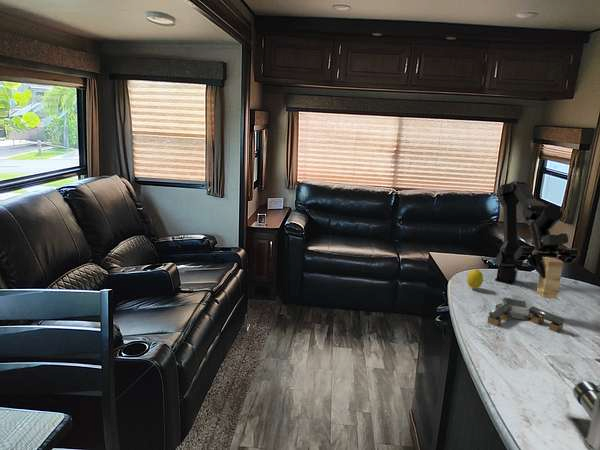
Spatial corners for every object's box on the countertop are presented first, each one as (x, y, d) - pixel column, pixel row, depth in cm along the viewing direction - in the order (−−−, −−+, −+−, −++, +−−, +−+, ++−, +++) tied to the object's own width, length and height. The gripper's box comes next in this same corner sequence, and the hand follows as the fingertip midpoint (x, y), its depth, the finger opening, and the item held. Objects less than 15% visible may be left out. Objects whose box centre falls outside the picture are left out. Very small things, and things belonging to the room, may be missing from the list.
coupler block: (536, 292, 149) (542, 256, 147) (550, 293, 149) (556, 257, 146) (542, 298, 145) (548, 261, 142) (557, 298, 145) (563, 261, 142)
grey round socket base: (494, 302, 158) (495, 294, 157) (531, 308, 154) (533, 299, 153) (496, 316, 146) (498, 307, 146) (537, 322, 143) (539, 313, 142)
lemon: (479, 286, 173) (481, 267, 171) (483, 292, 167) (486, 271, 166) (464, 285, 173) (466, 266, 171) (468, 291, 168) (470, 270, 166)
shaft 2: (526, 319, 145) (529, 307, 144) (533, 317, 146) (535, 305, 145) (557, 332, 136) (559, 319, 135) (563, 330, 138) (565, 317, 137)
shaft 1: (502, 314, 148) (504, 302, 147) (511, 318, 145) (513, 305, 144) (486, 322, 142) (488, 309, 141) (496, 326, 139) (498, 313, 138)
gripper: (522, 222, 146) (532, 265, 138) (582, 225, 145) (595, 268, 137) (510, 239, 156) (518, 280, 147) (565, 242, 154) (576, 283, 146)
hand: (551, 278), depth 144 cm, fingers closed on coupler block, 4 cm apart
